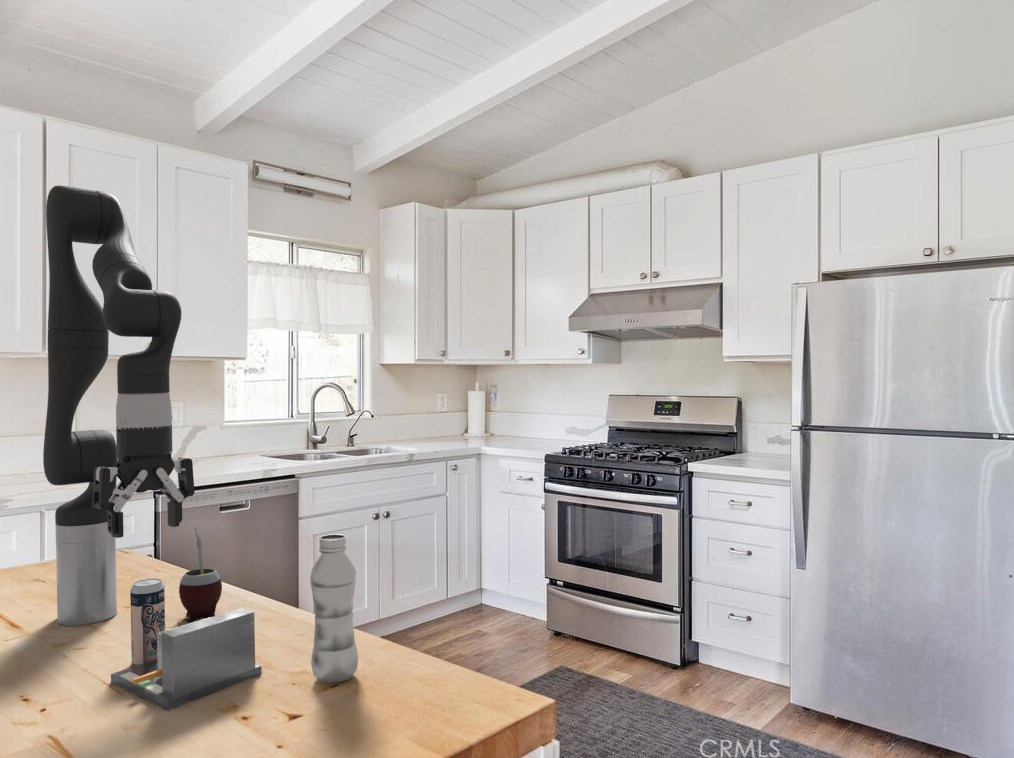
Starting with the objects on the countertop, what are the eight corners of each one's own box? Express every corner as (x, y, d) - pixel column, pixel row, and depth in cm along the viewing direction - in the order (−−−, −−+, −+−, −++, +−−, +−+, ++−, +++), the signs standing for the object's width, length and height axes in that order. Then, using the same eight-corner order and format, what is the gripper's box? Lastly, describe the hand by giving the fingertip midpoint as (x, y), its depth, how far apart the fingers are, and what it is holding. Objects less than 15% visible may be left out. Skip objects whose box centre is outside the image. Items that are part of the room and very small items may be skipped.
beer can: (152, 669, 109) (150, 587, 109) (123, 666, 110) (122, 586, 110) (173, 656, 114) (171, 578, 114) (145, 654, 115) (144, 577, 115)
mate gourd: (202, 625, 128) (200, 538, 128) (166, 620, 131) (164, 535, 130) (232, 612, 135) (231, 529, 135) (197, 607, 138) (196, 526, 137)
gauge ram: (130, 684, 100) (129, 640, 100) (209, 657, 109) (208, 616, 109) (136, 687, 99) (135, 642, 99) (215, 659, 109) (214, 618, 108)
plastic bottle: (317, 692, 100) (315, 544, 100) (306, 674, 106) (304, 535, 106) (364, 683, 103) (362, 539, 103) (351, 665, 109) (348, 530, 109)
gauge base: (111, 682, 105) (109, 617, 105) (203, 651, 116) (202, 592, 116) (167, 710, 96) (165, 639, 96) (261, 674, 107) (260, 610, 107)
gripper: (176, 419, 119) (178, 520, 120) (82, 425, 108) (84, 537, 108) (202, 421, 115) (204, 526, 115) (107, 428, 104) (109, 544, 104)
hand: (146, 531), depth 112 cm, fingers open, 8 cm apart
